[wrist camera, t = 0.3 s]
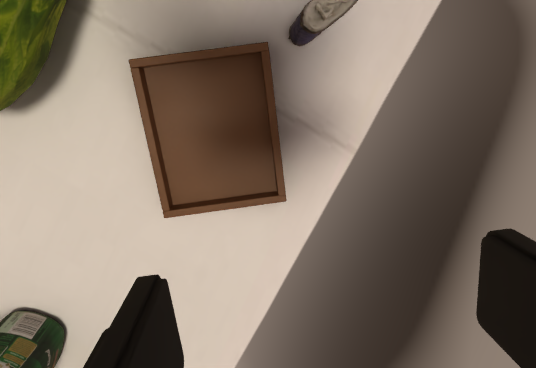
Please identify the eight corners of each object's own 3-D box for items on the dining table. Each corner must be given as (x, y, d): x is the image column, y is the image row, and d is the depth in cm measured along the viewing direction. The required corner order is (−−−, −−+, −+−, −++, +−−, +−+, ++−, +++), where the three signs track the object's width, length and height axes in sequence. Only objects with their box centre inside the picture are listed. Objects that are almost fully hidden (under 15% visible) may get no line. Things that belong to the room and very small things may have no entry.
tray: (135, 61, 36) (128, 59, 34) (266, 44, 36) (268, 41, 34) (168, 210, 41) (164, 218, 38) (284, 194, 41) (286, 201, 39)
